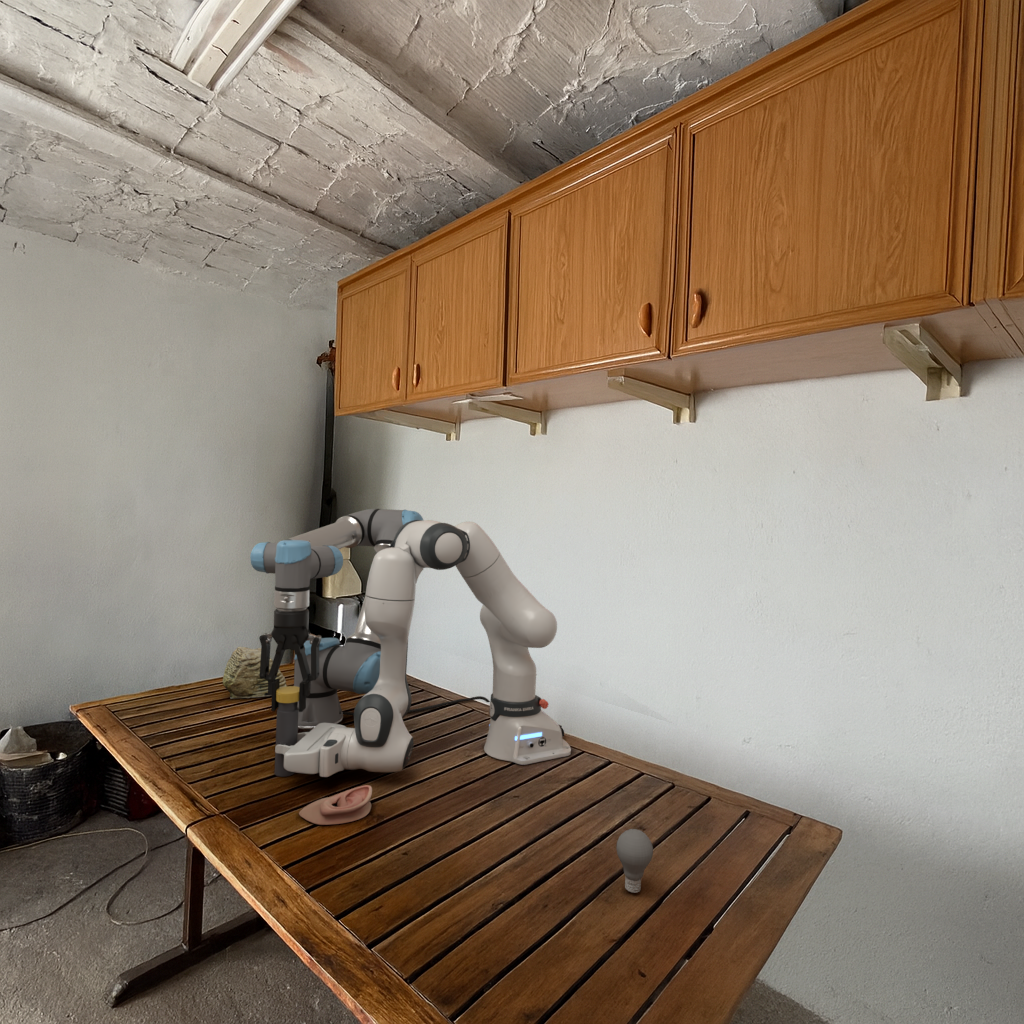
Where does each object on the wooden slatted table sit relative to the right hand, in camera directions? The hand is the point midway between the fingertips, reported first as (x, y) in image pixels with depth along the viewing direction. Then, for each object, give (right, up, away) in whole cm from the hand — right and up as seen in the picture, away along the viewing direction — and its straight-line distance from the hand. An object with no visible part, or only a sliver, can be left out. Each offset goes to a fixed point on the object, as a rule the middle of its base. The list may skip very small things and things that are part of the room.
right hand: (282, 742), depth 145 cm
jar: (+1, -7, 0) cm, 7 cm away
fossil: (-28, -5, +53) cm, 61 cm away
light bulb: (+72, -11, -39) cm, 83 cm away
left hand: (+1, +8, 0) cm, 8 cm away
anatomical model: (+17, -8, -17) cm, 25 cm away
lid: (+1, +12, 0) cm, 12 cm away
